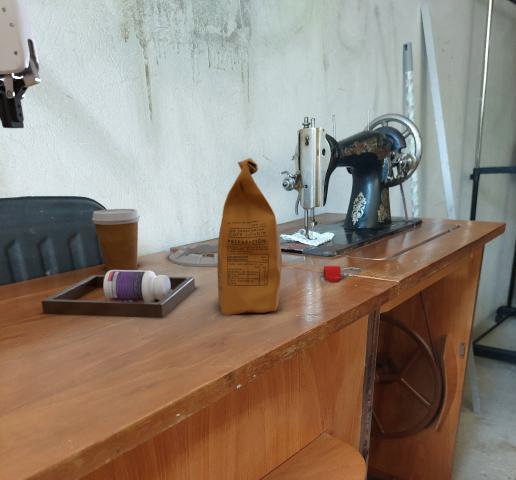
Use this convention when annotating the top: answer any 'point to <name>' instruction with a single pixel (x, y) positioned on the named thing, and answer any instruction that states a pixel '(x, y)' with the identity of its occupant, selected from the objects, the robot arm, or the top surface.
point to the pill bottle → (135, 286)
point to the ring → (195, 256)
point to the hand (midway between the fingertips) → (13, 127)
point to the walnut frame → (69, 305)
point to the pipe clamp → (332, 273)
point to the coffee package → (248, 249)
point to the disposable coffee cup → (118, 237)
